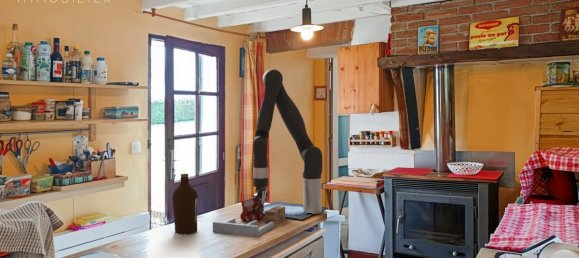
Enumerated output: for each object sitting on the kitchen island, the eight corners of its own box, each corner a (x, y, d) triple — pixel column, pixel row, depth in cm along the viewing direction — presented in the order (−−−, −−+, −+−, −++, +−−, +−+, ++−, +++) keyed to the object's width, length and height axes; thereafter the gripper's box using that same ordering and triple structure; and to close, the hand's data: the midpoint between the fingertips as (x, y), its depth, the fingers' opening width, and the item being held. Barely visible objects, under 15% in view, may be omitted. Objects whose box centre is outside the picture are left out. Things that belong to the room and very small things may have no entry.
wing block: (276, 218, 220) (276, 206, 220) (285, 219, 218) (285, 206, 218) (265, 224, 209) (264, 211, 209) (273, 225, 207) (273, 212, 207)
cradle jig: (232, 222, 214) (232, 213, 213) (274, 226, 205) (274, 217, 205) (212, 231, 199) (212, 222, 198) (257, 236, 190) (256, 226, 190)
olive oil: (174, 236, 192) (172, 176, 191) (172, 229, 202) (171, 173, 201) (200, 233, 195) (198, 175, 194) (197, 227, 205) (195, 171, 204)
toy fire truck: (266, 218, 220) (266, 196, 219) (248, 223, 210) (248, 201, 210) (256, 216, 224) (255, 195, 224) (237, 221, 215) (237, 199, 214)
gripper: (261, 179, 217) (261, 215, 218) (273, 175, 229) (273, 209, 230) (247, 178, 220) (247, 214, 221) (260, 174, 232) (260, 208, 233)
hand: (261, 211), depth 226 cm, fingers closed
